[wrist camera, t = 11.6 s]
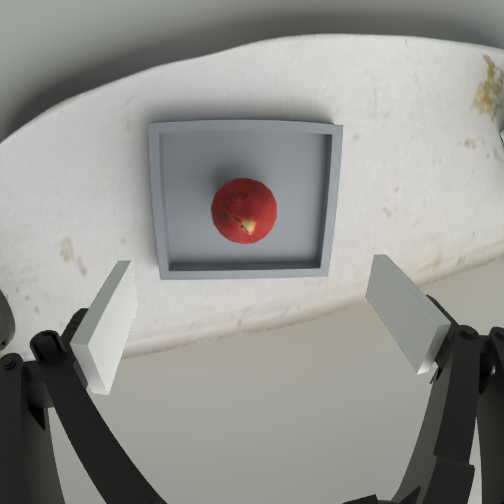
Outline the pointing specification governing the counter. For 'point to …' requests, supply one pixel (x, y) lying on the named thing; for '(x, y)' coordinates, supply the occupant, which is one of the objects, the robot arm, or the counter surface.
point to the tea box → (502, 134)
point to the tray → (244, 166)
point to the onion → (244, 210)
